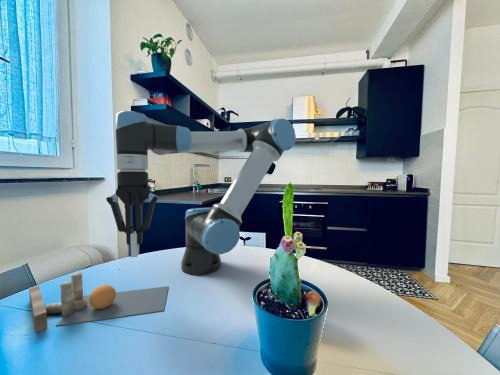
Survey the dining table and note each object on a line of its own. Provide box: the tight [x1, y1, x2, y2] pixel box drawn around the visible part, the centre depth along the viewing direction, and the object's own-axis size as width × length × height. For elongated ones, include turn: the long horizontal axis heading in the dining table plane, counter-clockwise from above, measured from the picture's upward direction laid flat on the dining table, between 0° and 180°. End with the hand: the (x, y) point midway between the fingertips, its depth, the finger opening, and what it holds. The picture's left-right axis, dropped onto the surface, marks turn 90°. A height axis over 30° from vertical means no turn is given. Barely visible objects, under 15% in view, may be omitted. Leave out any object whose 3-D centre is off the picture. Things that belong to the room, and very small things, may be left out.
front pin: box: [45, 299, 87, 315], centre depth 59 cm, size 2×2×8 cm
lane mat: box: [55, 286, 169, 327], centre depth 62 cm, size 24×13×1 cm, turn 105°
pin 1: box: [59, 280, 74, 319], centre depth 57 cm, size 2×2×8 cm
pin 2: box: [70, 271, 84, 301], centre depth 62 cm, size 2×2×8 cm
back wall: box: [28, 285, 48, 333], centre depth 57 cm, size 18×2×4 cm, turn 47°
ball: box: [89, 284, 117, 309], centre depth 60 cm, size 6×6×6 cm
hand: (135, 255), depth 62 cm, fingers closed
